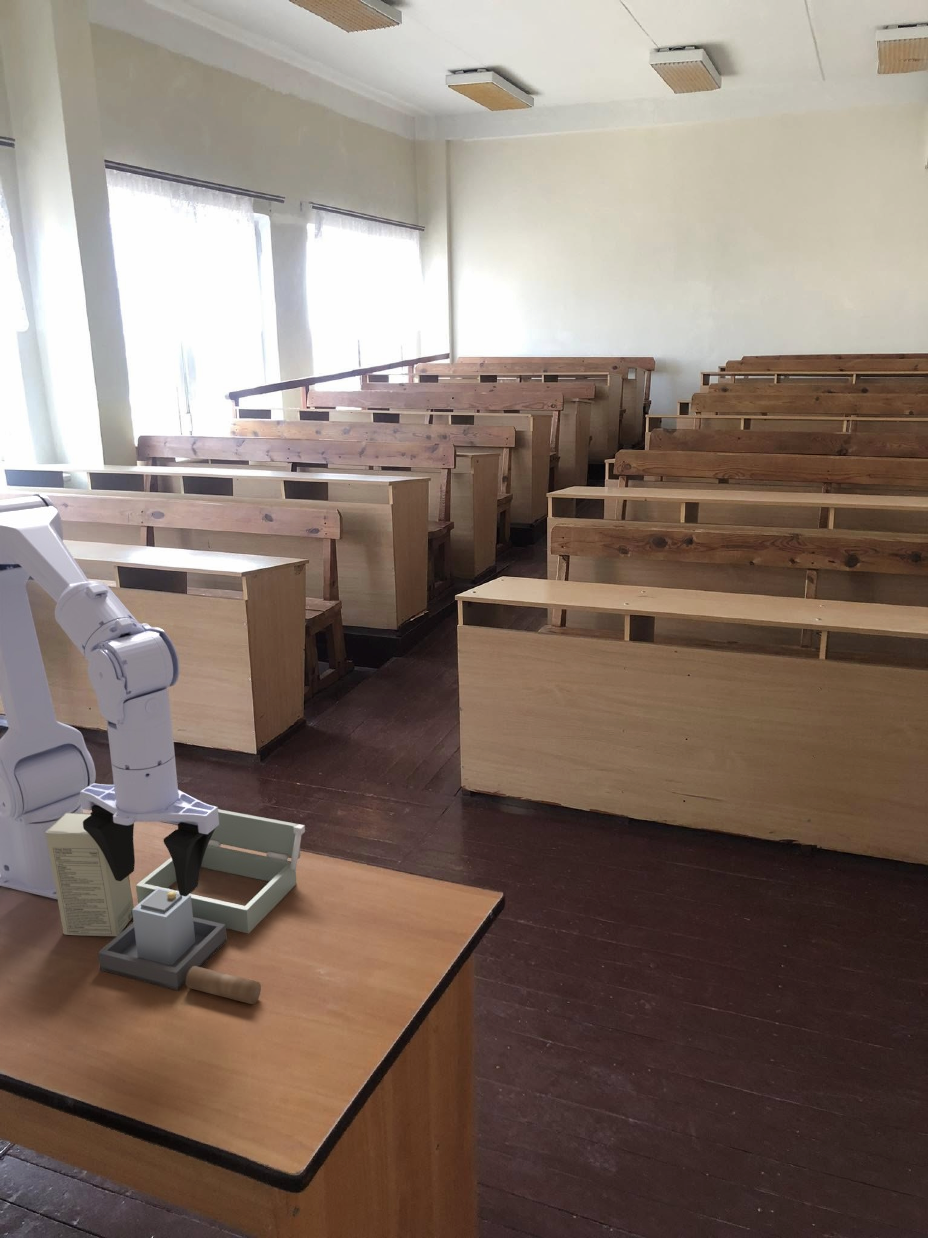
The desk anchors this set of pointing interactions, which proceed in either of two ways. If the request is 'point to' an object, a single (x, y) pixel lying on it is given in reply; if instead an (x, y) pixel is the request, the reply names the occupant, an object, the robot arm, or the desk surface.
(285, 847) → the equipment case
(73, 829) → the skincare box
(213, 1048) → the desk surface
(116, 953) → the socket
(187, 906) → the block
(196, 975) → the rod
